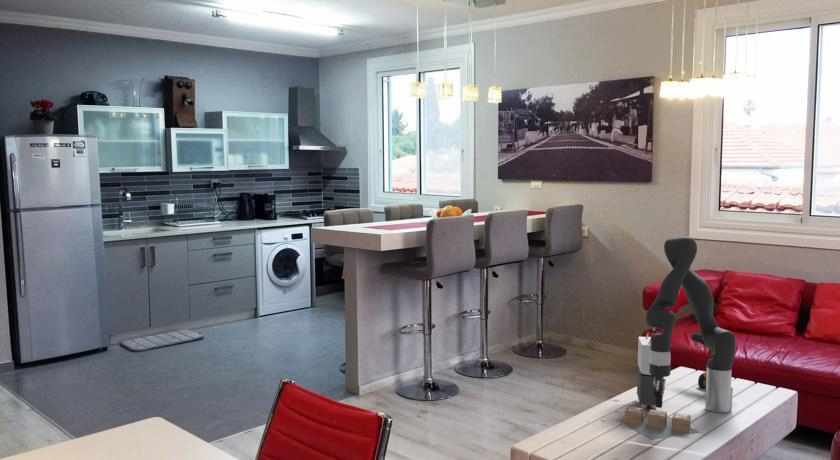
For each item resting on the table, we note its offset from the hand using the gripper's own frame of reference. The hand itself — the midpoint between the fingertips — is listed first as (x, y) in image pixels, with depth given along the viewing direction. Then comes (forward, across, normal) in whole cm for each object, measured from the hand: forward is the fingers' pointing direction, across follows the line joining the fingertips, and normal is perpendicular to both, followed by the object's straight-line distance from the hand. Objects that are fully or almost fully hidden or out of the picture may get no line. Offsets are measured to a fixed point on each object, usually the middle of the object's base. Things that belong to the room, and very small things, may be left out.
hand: (659, 407), depth 274 cm
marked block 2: (+7, 0, +8) cm, 11 cm away
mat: (+8, 0, 0) cm, 8 cm away
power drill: (+9, -62, +13) cm, 64 cm away
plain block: (+7, 0, 0) cm, 7 cm away
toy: (+8, -24, -7) cm, 27 cm away
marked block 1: (+7, 0, -9) cm, 12 cm away
